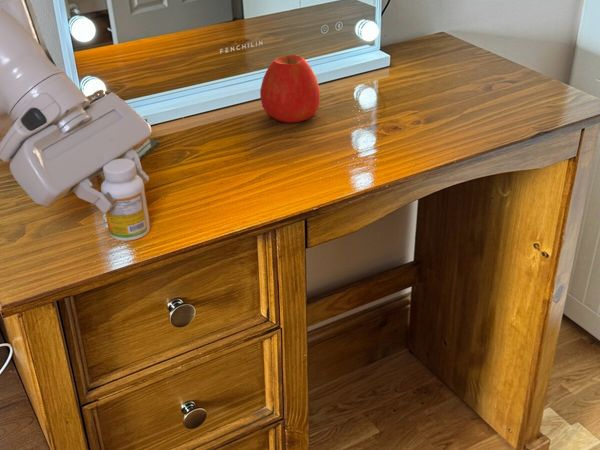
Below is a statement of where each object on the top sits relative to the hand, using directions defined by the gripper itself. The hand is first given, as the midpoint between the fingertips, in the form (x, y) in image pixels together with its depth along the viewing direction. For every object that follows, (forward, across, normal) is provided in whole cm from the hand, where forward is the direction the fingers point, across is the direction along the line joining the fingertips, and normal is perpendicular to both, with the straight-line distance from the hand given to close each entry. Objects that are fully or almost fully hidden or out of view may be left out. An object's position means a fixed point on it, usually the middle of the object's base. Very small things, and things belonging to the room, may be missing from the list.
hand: (127, 196), depth 98 cm
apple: (+5, -43, -3) cm, 43 cm away
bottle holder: (-8, -18, -16) cm, 25 cm away
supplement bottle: (+4, 0, -4) cm, 6 cm away
